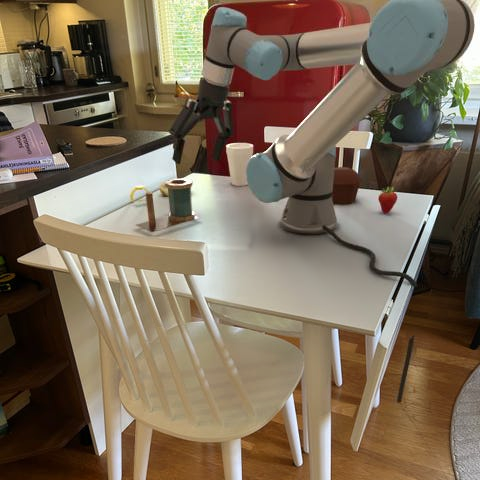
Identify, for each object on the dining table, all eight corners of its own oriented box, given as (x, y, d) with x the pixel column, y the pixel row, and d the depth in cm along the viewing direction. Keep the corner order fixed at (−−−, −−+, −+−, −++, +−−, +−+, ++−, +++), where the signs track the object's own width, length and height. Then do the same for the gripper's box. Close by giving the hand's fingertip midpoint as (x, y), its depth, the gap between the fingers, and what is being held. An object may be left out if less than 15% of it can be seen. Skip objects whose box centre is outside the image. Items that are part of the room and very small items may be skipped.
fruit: (384, 209, 145) (388, 182, 140) (398, 213, 141) (403, 186, 137) (373, 212, 142) (376, 185, 138) (386, 217, 138) (390, 189, 134)
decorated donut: (167, 201, 155) (166, 189, 153) (155, 193, 163) (154, 182, 161) (196, 195, 160) (195, 184, 158) (183, 188, 168) (182, 177, 166)
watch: (133, 207, 150) (131, 188, 146) (130, 205, 152) (128, 186, 149) (151, 204, 152) (149, 186, 149) (148, 202, 154) (146, 184, 151)
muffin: (365, 199, 153) (369, 167, 148) (348, 208, 146) (351, 174, 141) (334, 193, 160) (336, 162, 155) (315, 200, 153) (317, 169, 148)
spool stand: (181, 216, 142) (179, 180, 136) (199, 222, 137) (196, 186, 131) (135, 230, 132) (130, 192, 127) (152, 237, 127) (147, 198, 122)
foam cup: (255, 180, 175) (255, 143, 169) (250, 187, 168) (250, 148, 161) (230, 179, 177) (229, 142, 171) (224, 186, 170) (223, 147, 163)
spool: (195, 212, 140) (193, 178, 134) (192, 221, 133) (190, 185, 128) (171, 213, 140) (167, 178, 135) (167, 221, 134) (163, 185, 129)
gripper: (243, 77, 128) (222, 152, 142) (165, 71, 113) (150, 155, 126) (260, 89, 125) (238, 164, 138) (182, 84, 109) (165, 169, 123)
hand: (196, 160), depth 132 cm, fingers open, 13 cm apart
